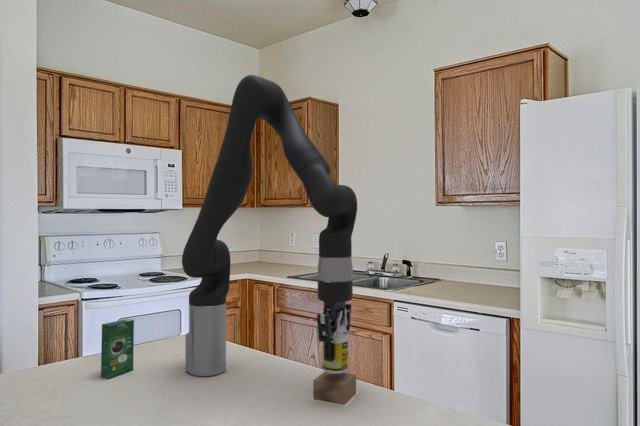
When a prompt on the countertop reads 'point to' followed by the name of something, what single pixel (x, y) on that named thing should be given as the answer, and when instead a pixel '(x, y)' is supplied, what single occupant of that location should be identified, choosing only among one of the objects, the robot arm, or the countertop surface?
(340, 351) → the supplement bottle
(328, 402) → the mat
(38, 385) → the countertop surface
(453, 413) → the countertop surface
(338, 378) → the walnut block
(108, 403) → the countertop surface
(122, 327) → the coffee box
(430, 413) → the countertop surface
